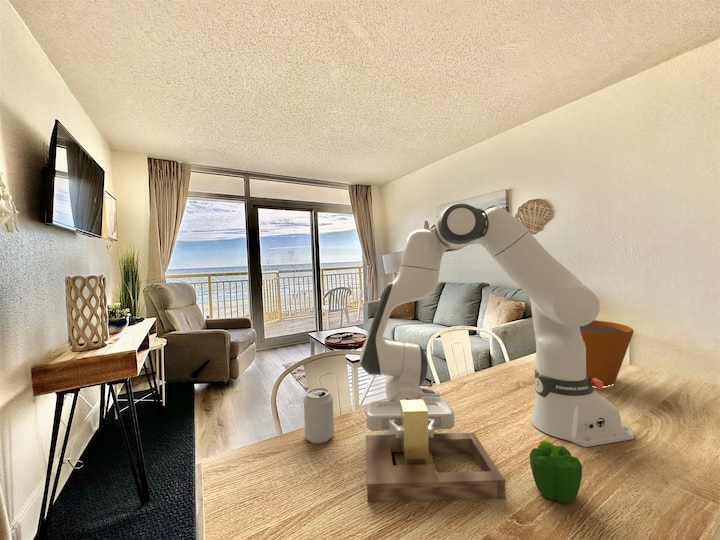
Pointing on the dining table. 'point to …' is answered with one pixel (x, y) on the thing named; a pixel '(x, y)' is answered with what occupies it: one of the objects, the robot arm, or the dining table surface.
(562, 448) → the bell pepper
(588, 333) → the flower pot
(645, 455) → the dining table surface
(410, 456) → the brass peg
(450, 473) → the walnut keyhole plate
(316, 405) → the can
